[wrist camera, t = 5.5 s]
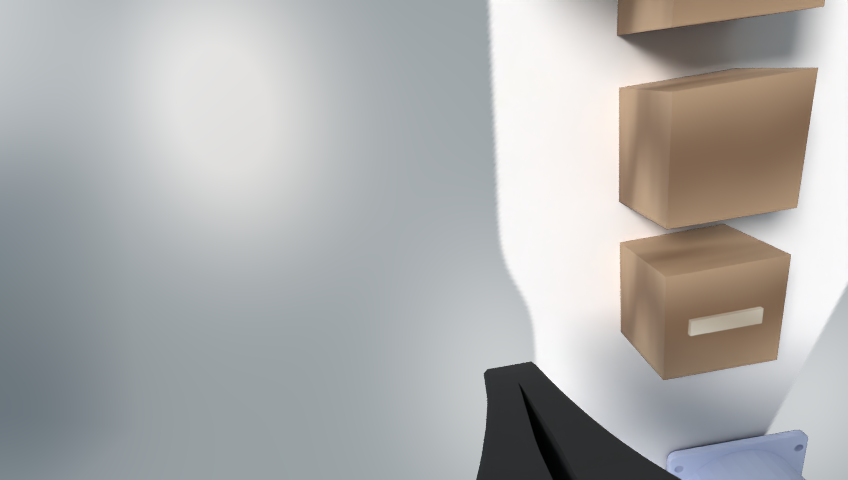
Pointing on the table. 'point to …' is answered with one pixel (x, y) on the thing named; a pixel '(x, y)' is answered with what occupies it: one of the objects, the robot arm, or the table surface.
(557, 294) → the table surface
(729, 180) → the blank block
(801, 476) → the robot arm
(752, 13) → the digit block seven
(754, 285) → the digit block one
